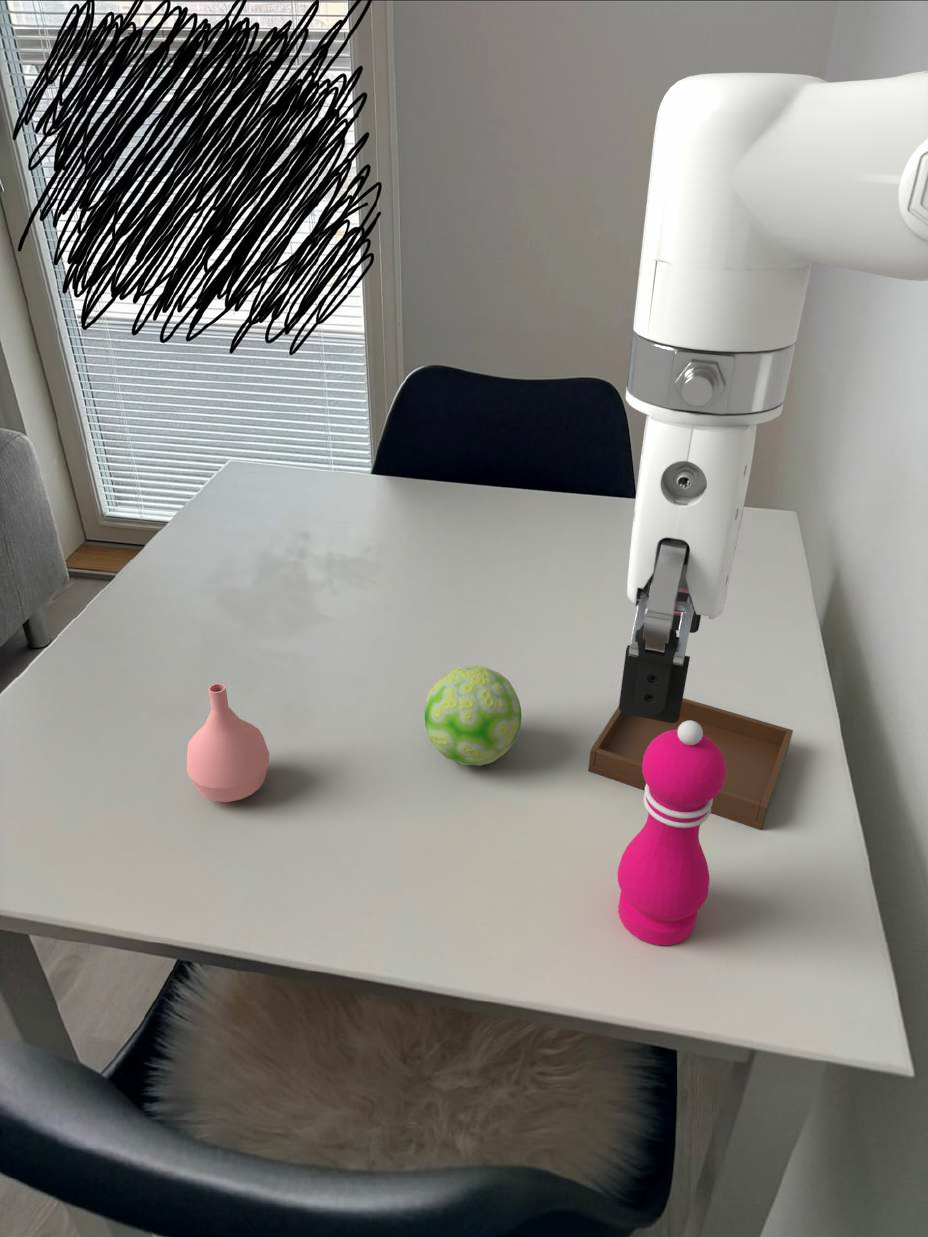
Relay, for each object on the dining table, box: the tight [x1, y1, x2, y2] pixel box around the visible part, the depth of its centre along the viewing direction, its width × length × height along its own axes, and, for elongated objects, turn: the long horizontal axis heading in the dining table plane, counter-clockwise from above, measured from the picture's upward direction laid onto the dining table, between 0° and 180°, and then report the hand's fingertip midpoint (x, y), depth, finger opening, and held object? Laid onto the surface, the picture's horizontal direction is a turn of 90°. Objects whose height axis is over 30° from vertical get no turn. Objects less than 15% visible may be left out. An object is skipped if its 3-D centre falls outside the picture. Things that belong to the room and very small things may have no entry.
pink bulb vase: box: [185, 682, 270, 803], centre depth 82 cm, size 8×8×12 cm
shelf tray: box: [587, 697, 794, 831], centre depth 89 cm, size 17×13×3 cm
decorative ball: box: [424, 665, 522, 766], centre depth 88 cm, size 10×10×10 cm
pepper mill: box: [617, 721, 726, 946], centre depth 68 cm, size 7×7×20 cm
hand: (661, 667), depth 51 cm, fingers open, 9 cm apart
